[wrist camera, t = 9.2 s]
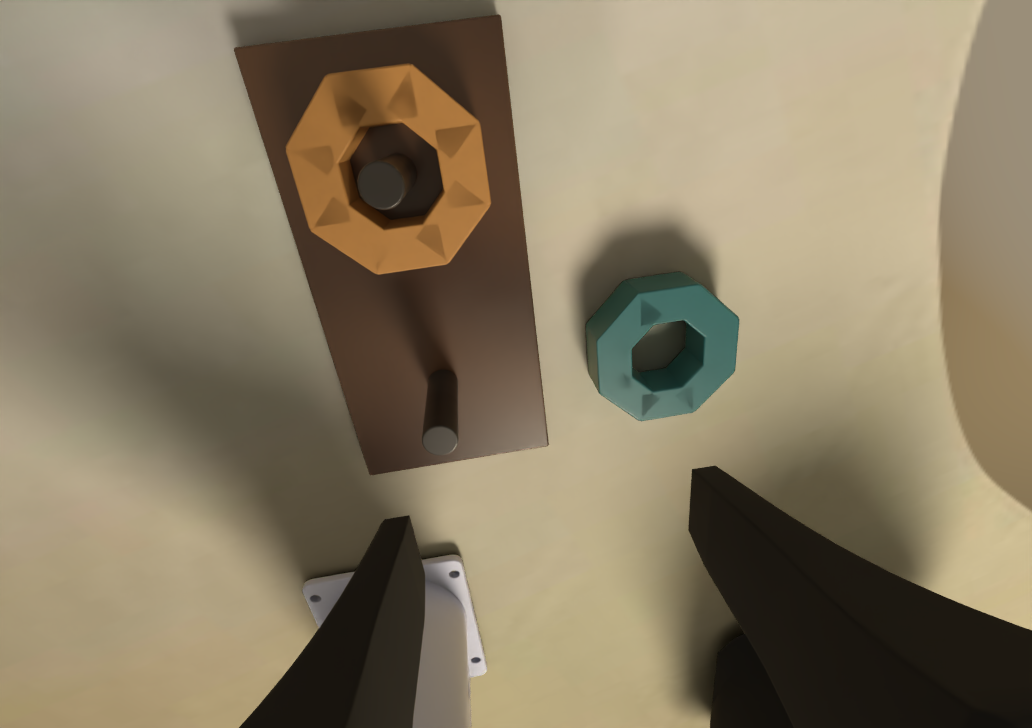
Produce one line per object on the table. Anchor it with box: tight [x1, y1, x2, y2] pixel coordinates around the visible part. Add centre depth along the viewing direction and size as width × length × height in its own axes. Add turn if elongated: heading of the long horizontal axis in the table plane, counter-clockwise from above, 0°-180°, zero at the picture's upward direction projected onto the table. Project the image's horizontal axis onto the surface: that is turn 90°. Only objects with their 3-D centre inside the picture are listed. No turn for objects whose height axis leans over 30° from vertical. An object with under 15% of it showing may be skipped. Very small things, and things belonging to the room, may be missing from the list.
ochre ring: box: [286, 63, 491, 275], centre depth 16 cm, size 6×6×2 cm
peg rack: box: [234, 15, 549, 475], centre depth 17 cm, size 16×8×5 cm, turn 7°
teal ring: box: [586, 272, 739, 421], centre depth 20 cm, size 6×6×2 cm
